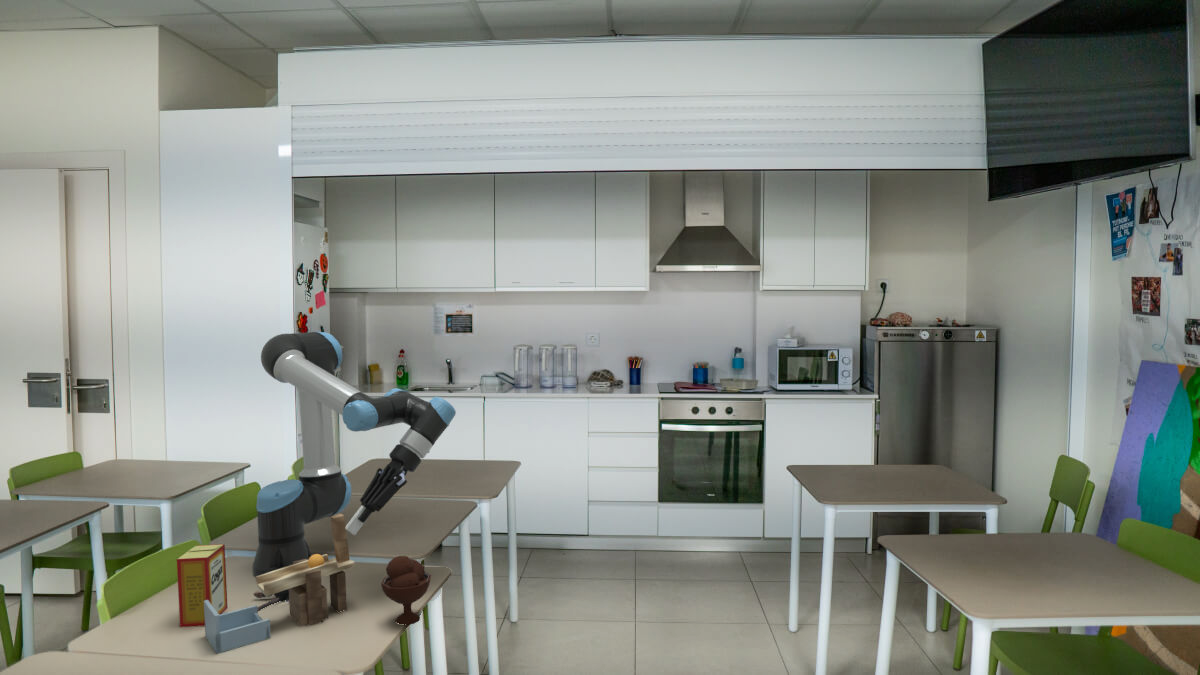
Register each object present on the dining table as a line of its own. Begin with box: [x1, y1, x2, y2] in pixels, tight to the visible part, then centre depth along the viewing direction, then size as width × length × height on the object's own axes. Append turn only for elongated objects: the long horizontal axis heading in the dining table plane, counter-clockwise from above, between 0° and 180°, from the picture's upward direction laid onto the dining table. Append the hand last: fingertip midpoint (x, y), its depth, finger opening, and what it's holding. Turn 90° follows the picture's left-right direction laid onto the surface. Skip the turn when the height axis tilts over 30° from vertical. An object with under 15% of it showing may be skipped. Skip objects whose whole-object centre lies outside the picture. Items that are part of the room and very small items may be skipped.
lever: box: [255, 513, 356, 596], centre depth 167 cm, size 20×7×12 cm, turn 130°
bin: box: [204, 600, 271, 654], centre depth 158 cm, size 11×11×8 cm
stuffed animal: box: [253, 589, 289, 612], centre depth 179 cm, size 12×10×12 cm
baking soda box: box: [176, 543, 228, 628], centre depth 168 cm, size 10×6×16 cm
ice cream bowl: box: [380, 555, 432, 626], centre depth 165 cm, size 11×11×15 cm
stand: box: [288, 559, 348, 627], centre depth 169 cm, size 11×10×12 cm
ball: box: [308, 553, 324, 568], centre depth 169 cm, size 4×4×4 cm
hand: (349, 531), depth 173 cm, fingers closed
